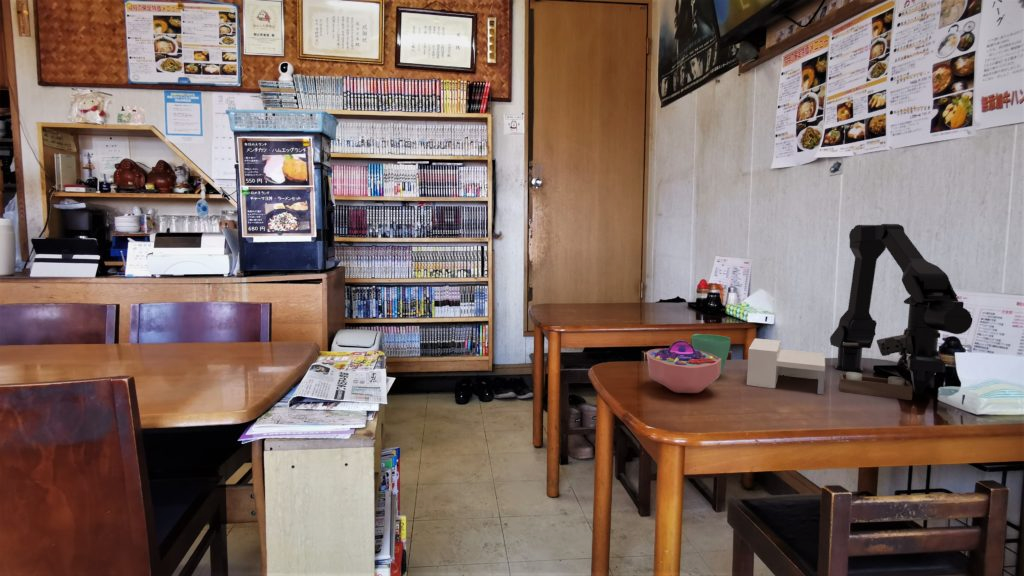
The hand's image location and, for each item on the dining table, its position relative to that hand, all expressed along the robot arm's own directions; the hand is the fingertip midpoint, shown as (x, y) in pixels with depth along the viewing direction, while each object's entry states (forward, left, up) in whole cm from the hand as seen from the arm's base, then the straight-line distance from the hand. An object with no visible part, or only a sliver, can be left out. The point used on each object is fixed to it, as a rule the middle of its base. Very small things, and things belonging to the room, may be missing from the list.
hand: (917, 393), depth 129 cm
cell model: (+21, -48, -1) cm, 53 cm away
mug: (+1, -46, -1) cm, 46 cm away
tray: (0, -8, -1) cm, 8 cm away
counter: (0, -27, -1) cm, 27 cm away
